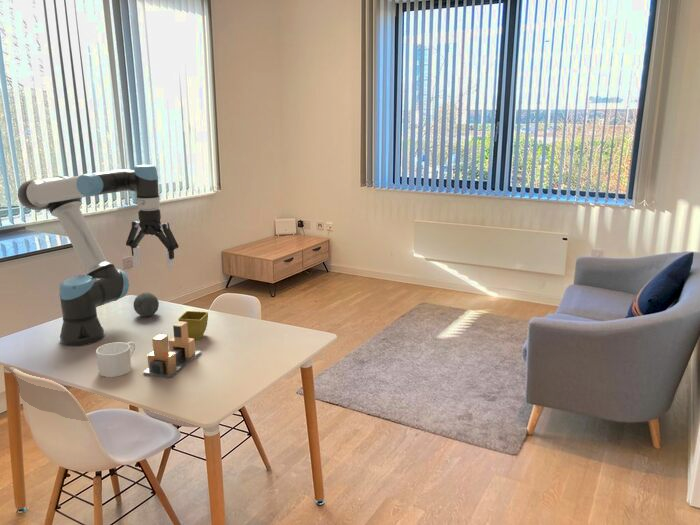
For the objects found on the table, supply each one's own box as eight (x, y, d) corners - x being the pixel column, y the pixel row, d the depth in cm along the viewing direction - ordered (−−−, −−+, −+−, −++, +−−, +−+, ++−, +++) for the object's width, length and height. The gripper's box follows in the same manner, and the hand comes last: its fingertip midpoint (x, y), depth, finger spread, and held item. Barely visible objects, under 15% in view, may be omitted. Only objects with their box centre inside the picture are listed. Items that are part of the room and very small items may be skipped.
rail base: (143, 374, 186) (140, 339, 183) (176, 350, 205) (174, 318, 202) (170, 378, 184) (167, 342, 181) (201, 353, 203) (199, 321, 199)
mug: (111, 380, 182) (109, 357, 180) (91, 372, 187) (88, 350, 185) (146, 365, 193) (144, 343, 191) (126, 358, 198) (123, 336, 196)
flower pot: (209, 333, 221) (208, 311, 219) (202, 342, 213) (200, 319, 210) (188, 332, 222) (186, 310, 219) (179, 341, 213) (177, 318, 211)
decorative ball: (164, 315, 239) (162, 293, 236) (141, 321, 232) (139, 298, 229) (152, 309, 246) (150, 288, 243) (130, 315, 239) (128, 293, 236)
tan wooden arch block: (195, 353, 201) (193, 322, 198) (188, 358, 196) (186, 327, 193) (175, 350, 203) (173, 320, 200) (168, 355, 198) (166, 325, 195)
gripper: (112, 208, 202) (117, 265, 207) (174, 212, 196) (178, 271, 201) (125, 205, 209) (130, 260, 214) (185, 209, 203) (189, 266, 208)
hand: (153, 266), depth 208 cm, fingers open, 13 cm apart
